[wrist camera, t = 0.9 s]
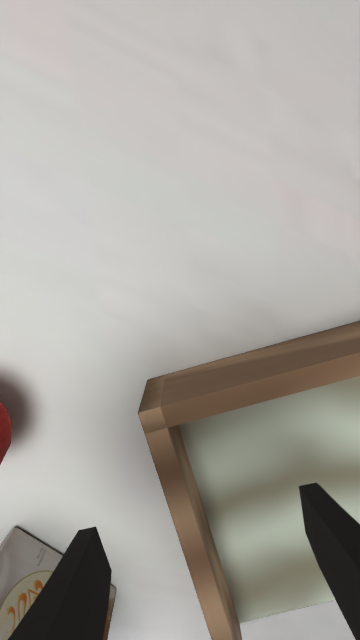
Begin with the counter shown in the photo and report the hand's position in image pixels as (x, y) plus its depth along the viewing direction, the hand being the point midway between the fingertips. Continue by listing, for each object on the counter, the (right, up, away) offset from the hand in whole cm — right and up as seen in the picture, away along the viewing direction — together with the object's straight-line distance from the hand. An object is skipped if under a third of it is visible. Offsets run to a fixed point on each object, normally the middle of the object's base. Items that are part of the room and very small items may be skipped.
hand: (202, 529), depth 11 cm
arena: (+10, -4, +11) cm, 15 cm away
